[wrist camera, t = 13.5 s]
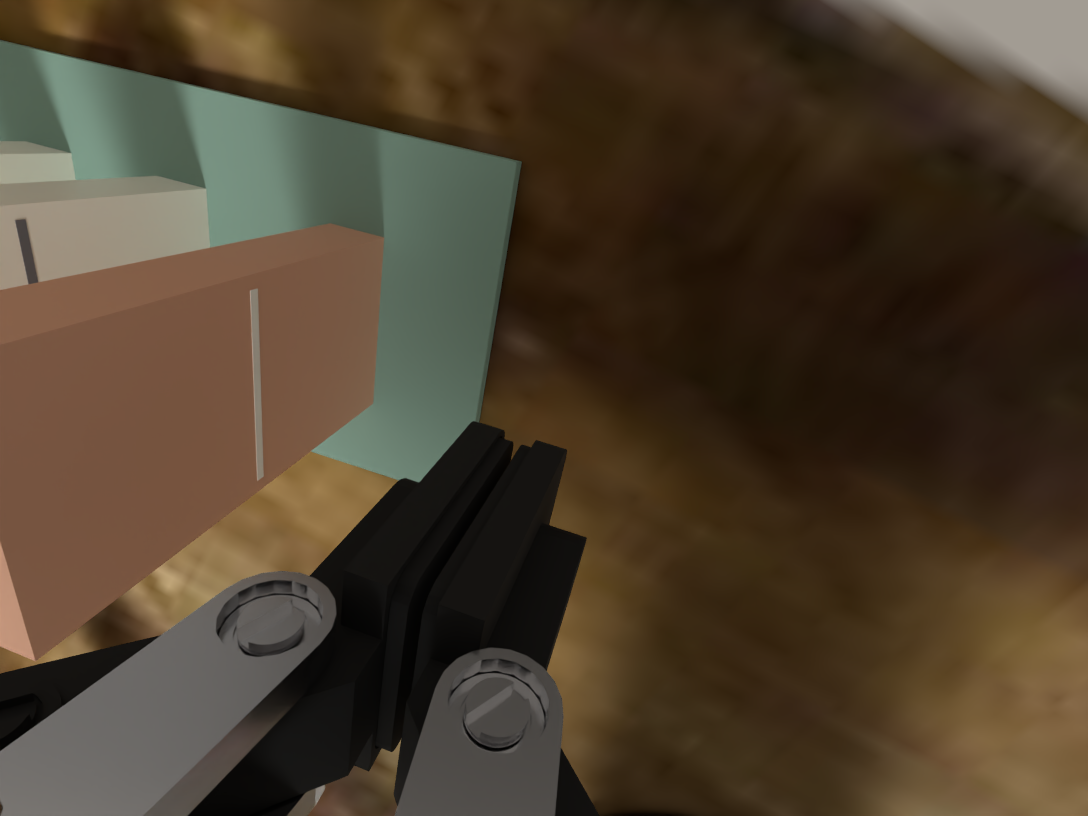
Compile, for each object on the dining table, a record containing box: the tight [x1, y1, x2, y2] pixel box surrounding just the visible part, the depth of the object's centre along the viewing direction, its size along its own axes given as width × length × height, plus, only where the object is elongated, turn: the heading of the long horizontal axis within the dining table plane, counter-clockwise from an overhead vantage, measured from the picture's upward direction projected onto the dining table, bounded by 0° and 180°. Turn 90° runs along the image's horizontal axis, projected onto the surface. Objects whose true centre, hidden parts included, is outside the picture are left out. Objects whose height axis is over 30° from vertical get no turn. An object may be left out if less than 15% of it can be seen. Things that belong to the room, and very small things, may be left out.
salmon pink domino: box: [0, 223, 384, 661], centre depth 12 cm, size 2×5×10 cm, turn 169°
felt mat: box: [0, 40, 522, 482], centre depth 18 cm, size 27×10×1 cm, turn 79°
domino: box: [0, 176, 210, 290], centre depth 13 cm, size 2×5×10 cm, turn 169°
